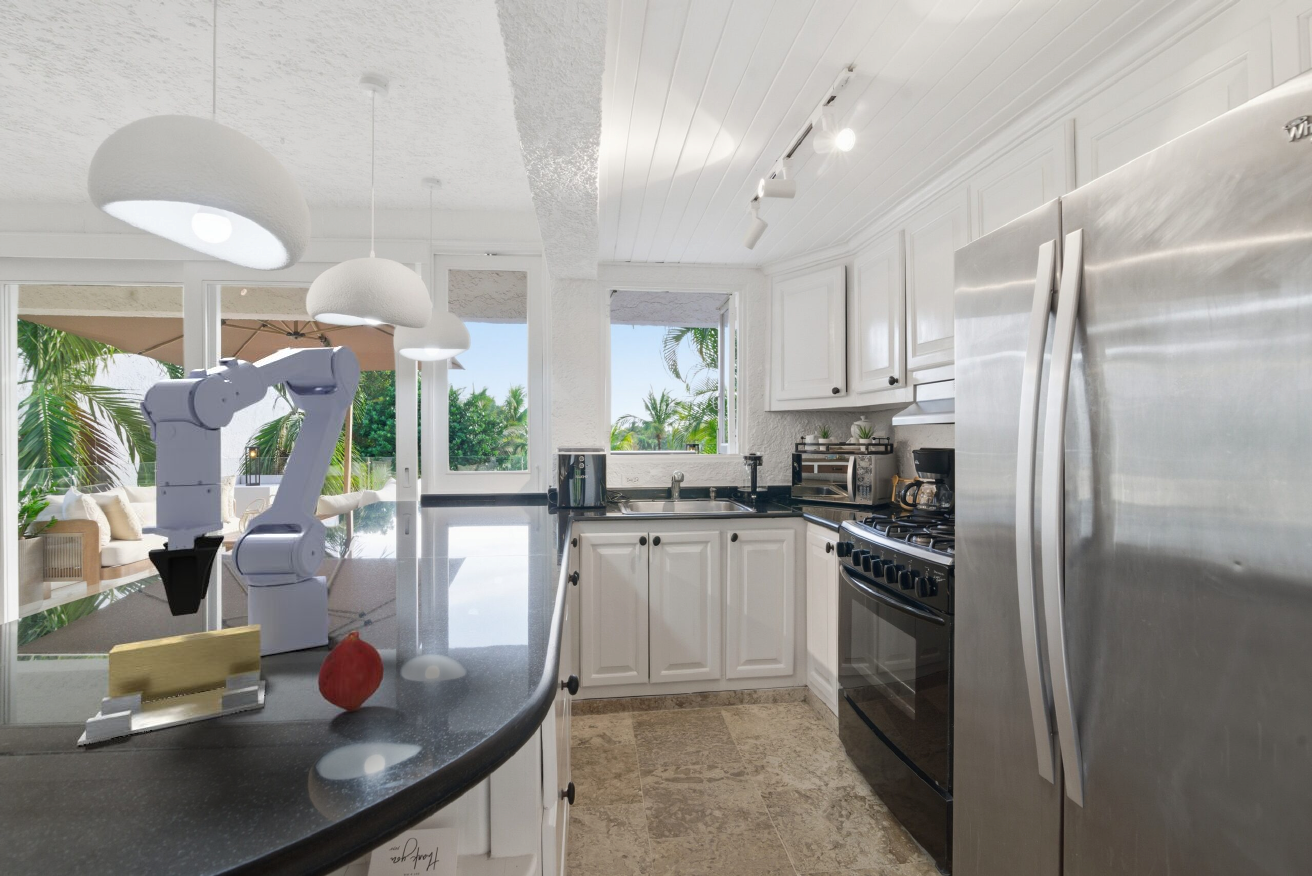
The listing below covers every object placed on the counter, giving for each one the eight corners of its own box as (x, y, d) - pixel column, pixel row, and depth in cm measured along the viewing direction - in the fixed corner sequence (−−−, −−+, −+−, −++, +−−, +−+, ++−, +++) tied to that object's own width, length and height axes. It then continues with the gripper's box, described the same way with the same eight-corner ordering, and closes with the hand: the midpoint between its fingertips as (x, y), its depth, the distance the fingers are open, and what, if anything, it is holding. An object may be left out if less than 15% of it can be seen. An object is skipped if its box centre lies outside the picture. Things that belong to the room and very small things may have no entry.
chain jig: (265, 683, 67) (265, 666, 67) (263, 706, 61) (263, 688, 61) (98, 715, 60) (98, 696, 60) (77, 746, 53) (77, 724, 53)
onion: (317, 729, 55) (316, 643, 56) (320, 706, 61) (319, 628, 61) (385, 715, 58) (384, 633, 58) (382, 694, 63) (381, 619, 63)
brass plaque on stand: (260, 674, 71) (260, 623, 71) (260, 682, 68) (259, 629, 68) (115, 701, 64) (115, 645, 64) (109, 711, 61) (108, 652, 61)
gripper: (154, 484, 70) (154, 599, 70) (128, 489, 58) (128, 628, 58) (227, 481, 74) (228, 590, 74) (217, 486, 62) (218, 616, 62)
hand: (189, 606), depth 66 cm, fingers open, 7 cm apart
